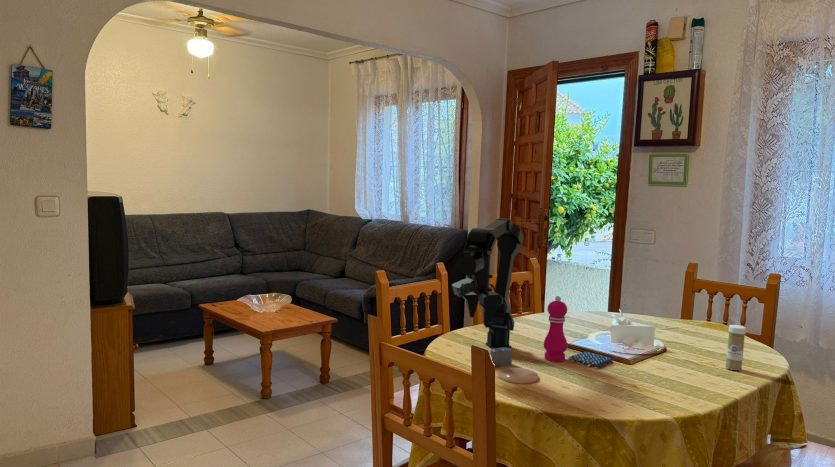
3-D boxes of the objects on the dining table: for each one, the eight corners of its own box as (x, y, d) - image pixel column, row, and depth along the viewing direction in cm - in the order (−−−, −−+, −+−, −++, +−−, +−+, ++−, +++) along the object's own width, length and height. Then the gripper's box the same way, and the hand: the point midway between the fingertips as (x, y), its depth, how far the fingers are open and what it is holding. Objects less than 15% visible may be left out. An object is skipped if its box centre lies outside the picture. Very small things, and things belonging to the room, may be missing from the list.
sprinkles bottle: (726, 370, 180) (729, 327, 178) (724, 365, 184) (728, 323, 183) (743, 372, 178) (747, 328, 177) (741, 368, 182) (745, 325, 181)
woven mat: (583, 356, 191) (583, 349, 191) (614, 364, 184) (614, 358, 184) (566, 362, 184) (566, 356, 184) (597, 371, 177) (597, 365, 176)
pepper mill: (567, 357, 188) (571, 295, 186) (565, 363, 181) (569, 299, 179) (544, 354, 190) (547, 292, 188) (541, 360, 184) (544, 297, 181)
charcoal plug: (507, 361, 182) (507, 346, 182) (514, 365, 179) (514, 350, 178) (481, 364, 179) (482, 349, 178) (488, 368, 175) (488, 353, 175)
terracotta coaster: (523, 368, 176) (523, 365, 176) (545, 381, 166) (545, 378, 166) (491, 372, 171) (491, 369, 171) (512, 385, 162) (512, 382, 161)
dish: (583, 349, 198) (585, 316, 197) (591, 331, 221) (593, 301, 220) (663, 360, 189) (666, 325, 188) (663, 340, 212) (665, 309, 211)
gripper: (443, 266, 184) (441, 315, 186) (469, 277, 166) (467, 331, 168) (475, 264, 188) (473, 313, 190) (504, 275, 170) (502, 328, 172)
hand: (478, 321), depth 180 cm, fingers open, 9 cm apart
